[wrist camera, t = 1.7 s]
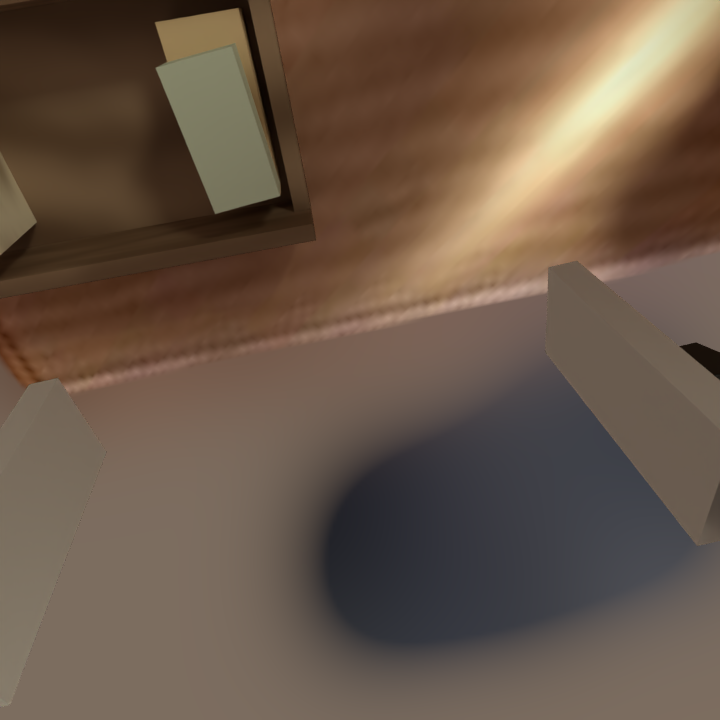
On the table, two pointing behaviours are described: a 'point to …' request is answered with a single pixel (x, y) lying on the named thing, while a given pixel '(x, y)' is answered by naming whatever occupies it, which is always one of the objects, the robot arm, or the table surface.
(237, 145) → the offcut top
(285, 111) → the tray
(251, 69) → the offcut low
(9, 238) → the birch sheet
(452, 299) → the table surface
